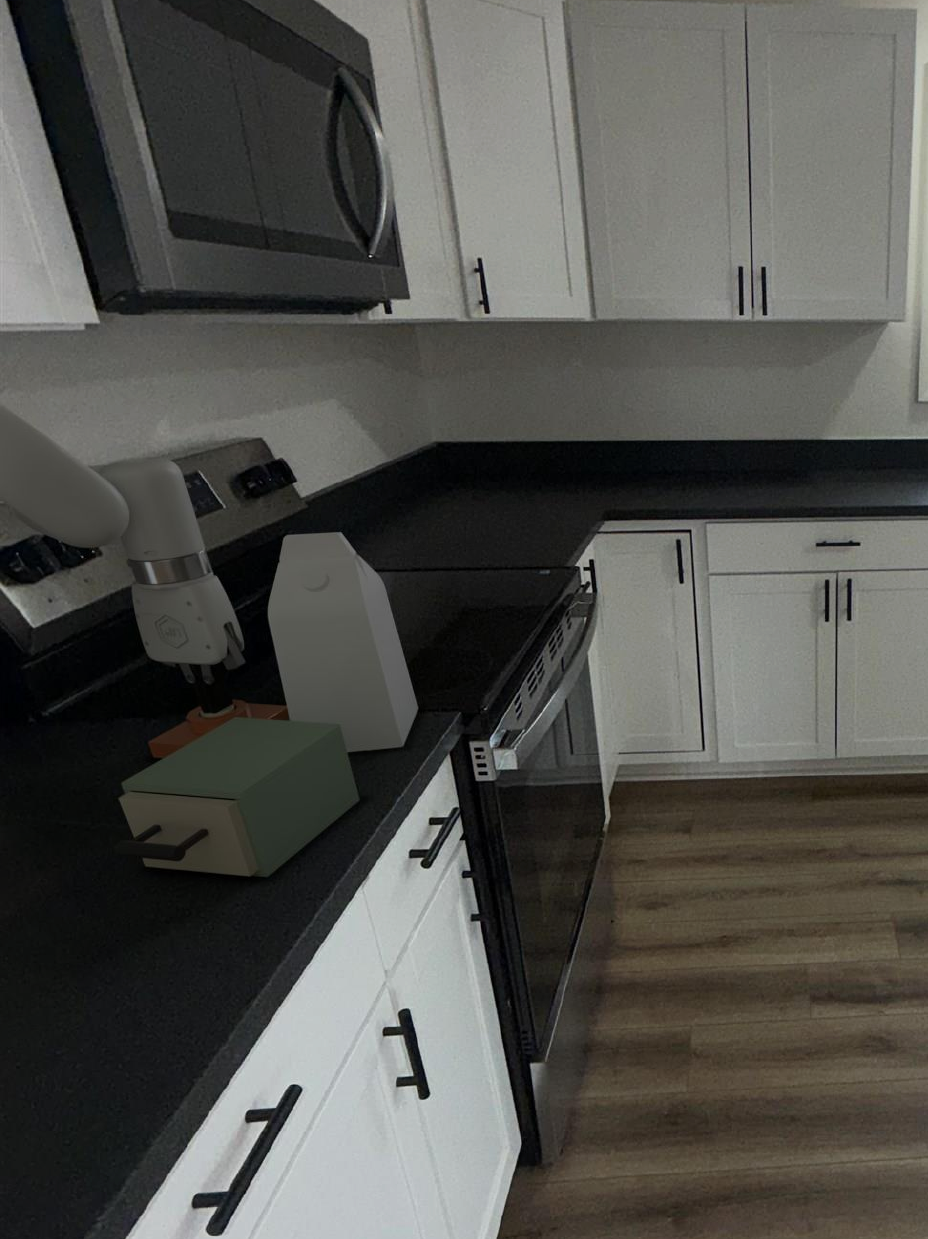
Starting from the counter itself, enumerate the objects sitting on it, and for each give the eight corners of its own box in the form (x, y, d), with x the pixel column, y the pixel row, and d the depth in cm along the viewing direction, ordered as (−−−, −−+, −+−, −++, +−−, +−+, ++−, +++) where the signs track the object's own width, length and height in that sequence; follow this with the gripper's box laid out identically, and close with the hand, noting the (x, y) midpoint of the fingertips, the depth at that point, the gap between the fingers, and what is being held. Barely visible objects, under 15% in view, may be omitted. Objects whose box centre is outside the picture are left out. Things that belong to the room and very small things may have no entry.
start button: (222, 728, 110) (218, 716, 109) (197, 726, 110) (192, 714, 110) (244, 716, 113) (240, 703, 112) (219, 714, 114) (215, 702, 113)
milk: (418, 708, 121) (377, 521, 110) (402, 746, 111) (356, 543, 100) (322, 718, 118) (271, 526, 107) (298, 757, 108) (238, 550, 97)
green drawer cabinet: (267, 877, 86) (239, 792, 82) (152, 866, 87) (120, 782, 83) (359, 800, 99) (340, 723, 95) (258, 792, 101) (235, 716, 97)
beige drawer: (216, 904, 81) (190, 832, 77) (106, 893, 82) (76, 822, 79) (340, 803, 97) (323, 740, 93) (246, 796, 98) (226, 733, 95)
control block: (226, 763, 107) (216, 734, 105) (153, 757, 108) (142, 728, 106) (293, 720, 118) (286, 693, 116) (226, 715, 119) (218, 688, 117)
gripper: (87, 574, 101) (141, 718, 109) (204, 579, 99) (250, 725, 107) (142, 556, 108) (189, 693, 116) (252, 561, 106) (292, 699, 114)
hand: (218, 708), depth 111 cm, fingers closed
